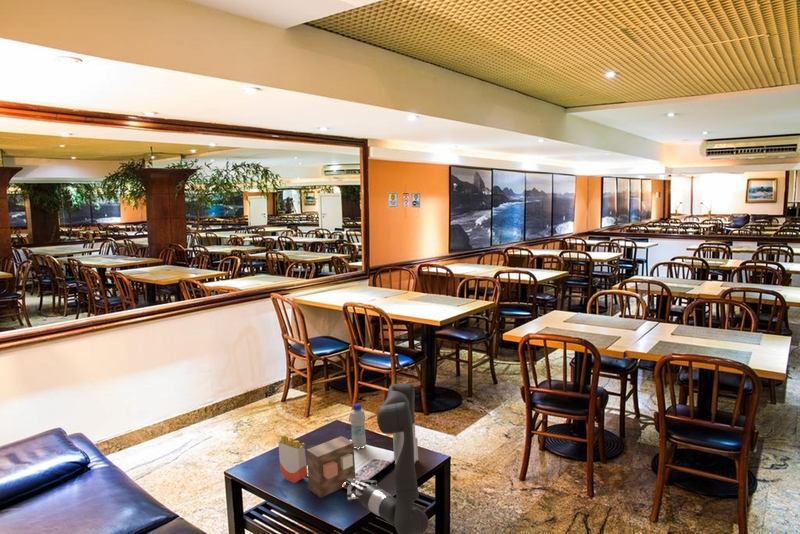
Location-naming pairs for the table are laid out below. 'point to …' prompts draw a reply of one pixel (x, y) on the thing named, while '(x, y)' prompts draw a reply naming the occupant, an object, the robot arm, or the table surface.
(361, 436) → the bottle
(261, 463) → the table surface
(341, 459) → the ivory key
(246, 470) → the table surface
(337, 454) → the key panel
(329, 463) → the terracotta key
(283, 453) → the french fries container
